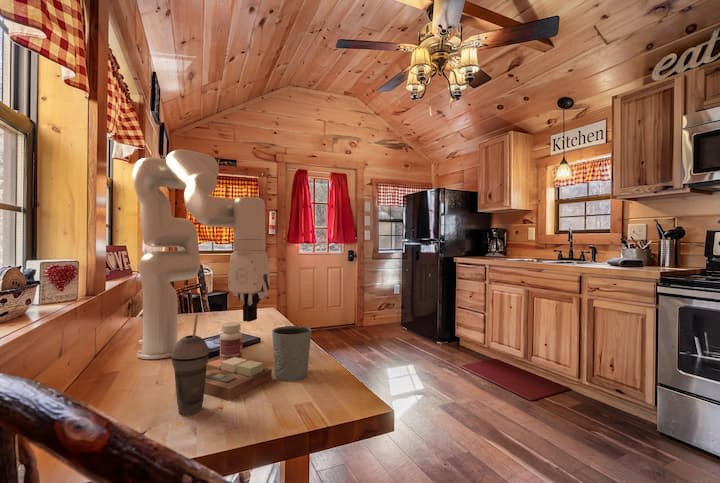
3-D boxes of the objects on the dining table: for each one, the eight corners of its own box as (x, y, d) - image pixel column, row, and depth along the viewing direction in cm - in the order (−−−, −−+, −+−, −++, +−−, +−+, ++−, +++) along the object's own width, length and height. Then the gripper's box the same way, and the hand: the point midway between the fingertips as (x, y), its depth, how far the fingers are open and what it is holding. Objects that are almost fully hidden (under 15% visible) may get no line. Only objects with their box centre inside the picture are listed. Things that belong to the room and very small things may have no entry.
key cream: (220, 369, 95) (220, 361, 95) (234, 364, 99) (234, 357, 99) (233, 372, 93) (233, 364, 93) (247, 367, 97) (247, 359, 97)
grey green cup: (264, 379, 95) (264, 332, 95) (285, 366, 105) (285, 323, 105) (299, 384, 92) (299, 336, 92) (317, 371, 101) (318, 327, 101)
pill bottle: (245, 364, 106) (245, 324, 106) (222, 368, 103) (222, 327, 103) (238, 358, 112) (239, 320, 112) (217, 362, 108) (217, 323, 108)
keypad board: (175, 385, 91) (175, 372, 91) (221, 367, 104) (221, 356, 104) (229, 400, 83) (229, 386, 83) (271, 379, 95) (271, 367, 95)
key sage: (236, 373, 92) (236, 365, 92) (249, 368, 96) (249, 360, 96) (250, 376, 90) (250, 368, 90) (263, 371, 94) (263, 363, 94)
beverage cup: (179, 403, 81) (179, 311, 81) (213, 402, 82) (214, 311, 82) (164, 419, 74) (164, 318, 74) (202, 418, 75) (202, 318, 75)
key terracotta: (205, 371, 97) (205, 363, 97) (219, 366, 101) (219, 358, 101) (218, 374, 95) (218, 366, 95) (231, 369, 99) (231, 361, 99)
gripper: (216, 247, 93) (216, 320, 93) (262, 247, 86) (262, 326, 86) (239, 246, 100) (239, 315, 100) (283, 246, 93) (283, 320, 93)
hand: (250, 320), depth 93 cm, fingers closed
